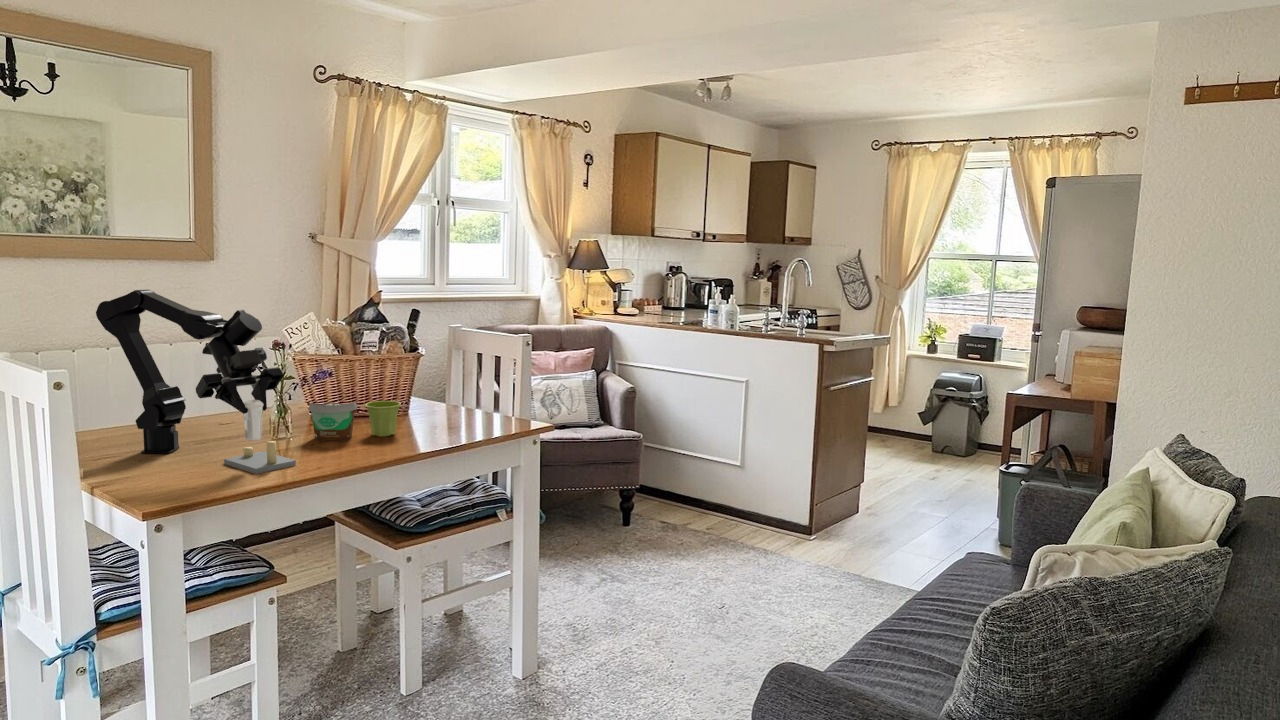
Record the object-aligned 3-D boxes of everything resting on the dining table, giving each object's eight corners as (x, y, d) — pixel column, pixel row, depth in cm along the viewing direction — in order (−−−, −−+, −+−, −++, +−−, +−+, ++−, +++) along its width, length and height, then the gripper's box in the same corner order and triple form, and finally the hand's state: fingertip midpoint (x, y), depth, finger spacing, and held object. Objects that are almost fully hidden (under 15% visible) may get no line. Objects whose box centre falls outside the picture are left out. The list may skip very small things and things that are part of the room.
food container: (306, 443, 216) (305, 405, 214) (309, 438, 222) (308, 401, 220) (356, 442, 219) (355, 405, 218) (357, 436, 225) (357, 400, 224)
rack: (224, 463, 194) (223, 438, 193) (263, 455, 202) (263, 431, 201) (256, 473, 187) (255, 447, 186) (295, 465, 195) (295, 439, 194)
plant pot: (365, 439, 223) (365, 407, 222) (365, 431, 232) (365, 401, 231) (401, 437, 226) (401, 406, 225) (400, 430, 235) (400, 400, 234)
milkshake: (244, 436, 194) (243, 394, 192) (267, 437, 194) (266, 395, 192) (235, 440, 189) (234, 397, 188) (259, 441, 189) (258, 398, 188)
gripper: (200, 339, 183) (228, 395, 178) (279, 334, 198) (306, 385, 193) (183, 369, 189) (210, 425, 184) (261, 362, 204) (287, 413, 199)
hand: (255, 411), depth 190 cm, fingers closed on milkshake, 4 cm apart
